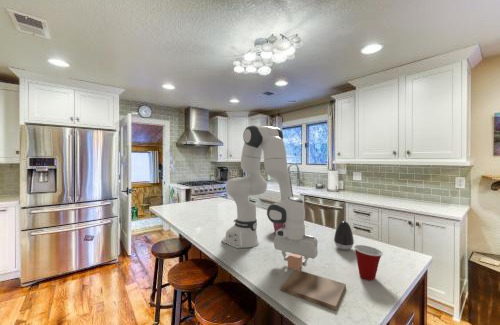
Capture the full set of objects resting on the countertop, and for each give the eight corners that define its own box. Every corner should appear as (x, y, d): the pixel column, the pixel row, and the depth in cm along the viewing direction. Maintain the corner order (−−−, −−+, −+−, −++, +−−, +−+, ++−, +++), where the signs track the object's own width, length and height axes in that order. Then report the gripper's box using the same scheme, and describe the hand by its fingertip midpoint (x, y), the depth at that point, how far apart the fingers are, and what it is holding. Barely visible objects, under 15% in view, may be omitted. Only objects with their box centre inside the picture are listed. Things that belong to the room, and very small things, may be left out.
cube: (287, 267, 103) (287, 256, 103) (292, 263, 107) (292, 253, 107) (298, 270, 100) (298, 259, 100) (302, 266, 105) (302, 255, 105)
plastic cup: (388, 283, 90) (389, 253, 90) (362, 284, 89) (363, 254, 89) (371, 270, 101) (372, 243, 101) (348, 271, 100) (349, 244, 100)
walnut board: (280, 290, 85) (280, 286, 85) (296, 272, 98) (296, 269, 98) (335, 310, 74) (335, 306, 74) (345, 287, 87) (345, 283, 87)
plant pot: (266, 231, 154) (266, 213, 154) (280, 227, 163) (280, 210, 163) (282, 237, 143) (282, 217, 143) (296, 232, 152) (296, 213, 152)
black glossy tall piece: (334, 250, 123) (334, 222, 123) (333, 243, 133) (334, 218, 132) (354, 253, 119) (354, 224, 119) (352, 246, 129) (353, 219, 129)
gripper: (319, 235, 100) (319, 266, 100) (278, 227, 112) (278, 255, 112) (315, 239, 95) (315, 271, 95) (272, 230, 107) (272, 259, 107)
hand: (294, 262), depth 104 cm, fingers open, 8 cm apart
